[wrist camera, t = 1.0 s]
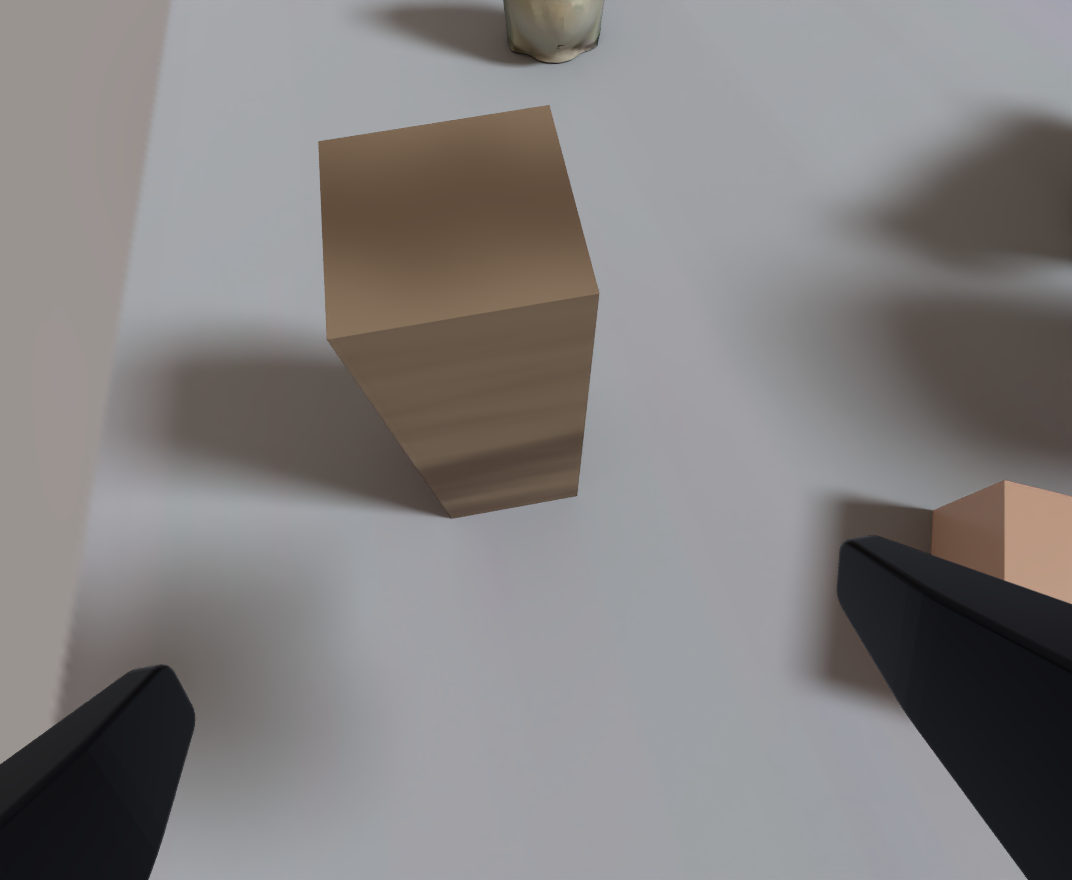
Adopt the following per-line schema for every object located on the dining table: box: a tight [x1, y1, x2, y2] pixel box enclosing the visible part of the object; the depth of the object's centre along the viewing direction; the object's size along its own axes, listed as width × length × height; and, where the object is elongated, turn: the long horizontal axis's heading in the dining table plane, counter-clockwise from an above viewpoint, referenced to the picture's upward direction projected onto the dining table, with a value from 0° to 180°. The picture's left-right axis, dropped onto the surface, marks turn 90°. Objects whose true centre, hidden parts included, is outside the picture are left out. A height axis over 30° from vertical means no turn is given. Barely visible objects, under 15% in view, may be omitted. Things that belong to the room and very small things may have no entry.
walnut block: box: [318, 105, 599, 518], centre depth 17 cm, size 5×5×13 cm
